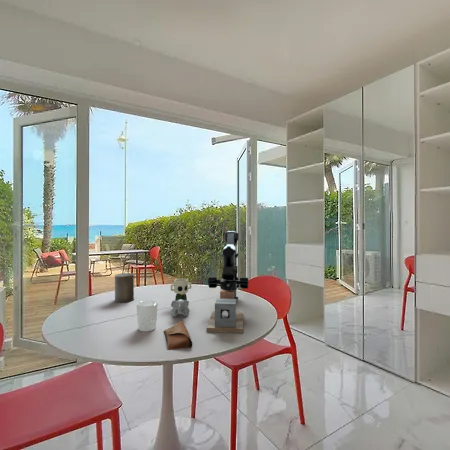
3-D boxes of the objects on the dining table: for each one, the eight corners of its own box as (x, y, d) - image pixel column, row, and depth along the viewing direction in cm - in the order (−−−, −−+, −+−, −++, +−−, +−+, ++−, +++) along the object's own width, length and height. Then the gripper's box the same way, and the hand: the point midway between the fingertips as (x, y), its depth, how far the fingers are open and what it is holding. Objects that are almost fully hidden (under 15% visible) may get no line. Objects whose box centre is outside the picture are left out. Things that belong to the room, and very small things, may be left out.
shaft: (220, 312, 123) (220, 290, 123) (234, 313, 123) (234, 290, 123) (216, 326, 106) (217, 300, 106) (232, 327, 106) (232, 300, 106)
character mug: (172, 309, 135) (172, 282, 135) (168, 305, 141) (168, 279, 141) (193, 306, 140) (194, 280, 140) (188, 302, 146) (188, 277, 146)
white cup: (146, 333, 104) (146, 307, 104) (132, 329, 109) (132, 303, 109) (161, 327, 111) (161, 302, 111) (147, 323, 115) (147, 299, 115)
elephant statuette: (187, 312, 132) (187, 295, 132) (195, 318, 121) (195, 300, 121) (168, 315, 128) (167, 298, 128) (174, 321, 117) (173, 303, 117)
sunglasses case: (161, 330, 108) (171, 314, 109) (177, 337, 110) (186, 322, 111) (167, 350, 91) (177, 332, 92) (185, 359, 92) (195, 340, 93)
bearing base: (212, 314, 128) (212, 291, 128) (243, 314, 127) (243, 291, 127) (206, 331, 107) (206, 304, 107) (243, 332, 106) (243, 305, 106)
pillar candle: (137, 299, 152) (137, 271, 152) (122, 303, 144) (122, 274, 144) (126, 297, 157) (125, 270, 157) (110, 300, 149) (110, 272, 149)
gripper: (208, 259, 131) (205, 288, 120) (248, 260, 130) (248, 289, 119) (210, 273, 139) (207, 301, 128) (248, 274, 138) (248, 302, 127)
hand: (227, 298), depth 125 cm, fingers closed
